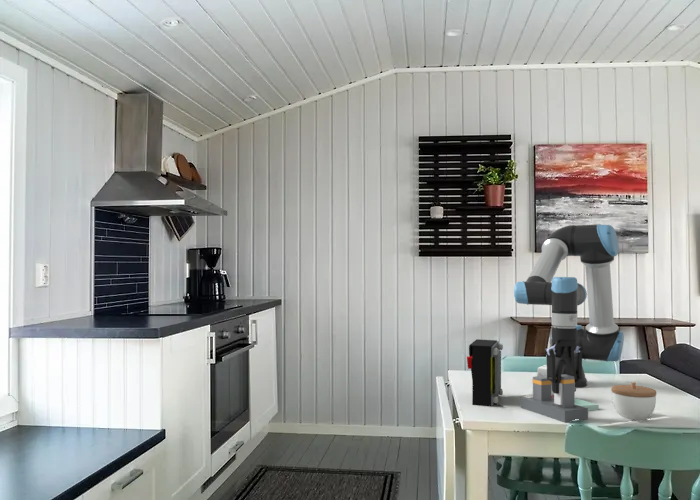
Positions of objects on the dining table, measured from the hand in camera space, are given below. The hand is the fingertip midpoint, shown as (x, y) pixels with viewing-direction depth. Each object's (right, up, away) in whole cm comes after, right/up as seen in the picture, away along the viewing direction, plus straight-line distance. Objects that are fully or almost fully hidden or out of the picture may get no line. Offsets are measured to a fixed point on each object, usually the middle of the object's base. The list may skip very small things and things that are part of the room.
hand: (564, 403), depth 183 cm
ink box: (+3, -6, +25) cm, 26 cm away
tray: (+7, -5, +14) cm, 16 cm away
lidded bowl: (+22, -5, +2) cm, 23 cm away
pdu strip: (-2, -5, +4) cm, 7 cm away
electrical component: (-19, -6, +25) cm, 32 cm away
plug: (0, -2, 0) cm, 2 cm away
